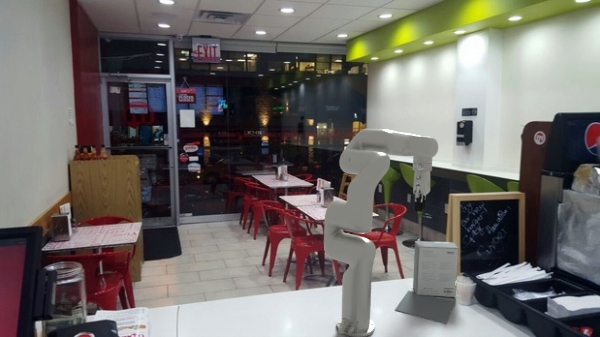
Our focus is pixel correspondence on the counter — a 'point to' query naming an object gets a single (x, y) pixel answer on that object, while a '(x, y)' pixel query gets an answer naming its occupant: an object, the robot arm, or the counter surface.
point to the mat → (426, 307)
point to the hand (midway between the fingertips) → (419, 209)
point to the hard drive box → (435, 268)
